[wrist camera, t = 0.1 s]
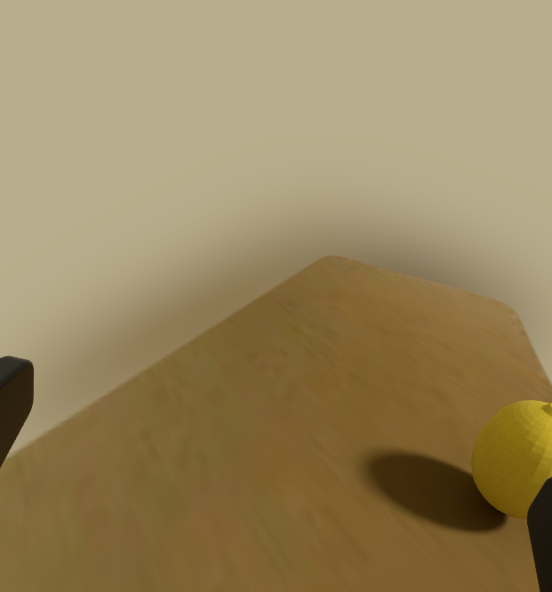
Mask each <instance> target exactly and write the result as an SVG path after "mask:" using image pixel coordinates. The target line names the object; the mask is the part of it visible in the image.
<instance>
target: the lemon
mask: <svg viewBox="0 0 552 592" xmlns="http://www.w3.org/2000/svg"><path fill="white" fill-rule="evenodd" d="M471 465H472V473H473V478H474V481H475V483H476V485H477V488H478V490H479V491H480V493H481V494H482V496H483V497H484V498H485V499H486V500H487V501H488V502H489V503H490V504H491V505H492V506H493V507H494V508H495V509H497V510H499V511H501V512H503V513H504V514H507V515H509V516H512V517H516V518H521V519H527V512H528V509H529V507H530V505H531V503H532V502H533V500H534V498H535V497H536V495H537V494H538V492H539V490H540V489H541V487H542V486H543V484H544V482H545V481H546V480H547V479H548V478H550V477H552V403H551V404H549V403H545V402H541V401H533V400H530V401H519V402H515V403H512V404H510V405H507V406H505V407H504V408H502V409H501V410H500V411H498V412H497V413H496V414H495V415H494V416H493V417H492V418H491V419H490V420H489V421H488V422H487V423H486V425H485V426H484V427H483V429H482V430H481V432H480V433H479V435H478V437H477V440H476V443H475V446H474V449H473V453H472V459H471Z"/></svg>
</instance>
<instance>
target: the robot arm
mask: <svg viewBox="0 0 552 592" xmlns="http://www.w3.org/2000/svg"><path fill="white" fill-rule="evenodd" d="M33 395H34V368H33V364H32V362H31V361H29V360H26V359H22V358H17V357H13V356H5V357H2V358H0V468H1V466H2V464H3V462H4V460H5V458H6V456H7V454H8V453H9V450H10V449H11V447H12V445H13V443H14V441H15V440H16V437H17V436H18V434H19V432H20V430H21V428H22V426H23V425H24V423H25V421H26V419H27V417H28V415H29V413H30V411H31V408H32V405H33ZM527 525H528V530H529V535H530V541H531V546H532V551H533V557H534V562H535V567H536V573H537V578H538V583H539V589H540V592H552V477H550V478H548V479H547V480H546V481H545V482H544V484H543V486H542V487H541V489H540V490H539V492H538V494H537V495H536V497H535V498H534V500H533V502H532V503H531V505H530V507H529V509H528V512H527Z"/></svg>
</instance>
